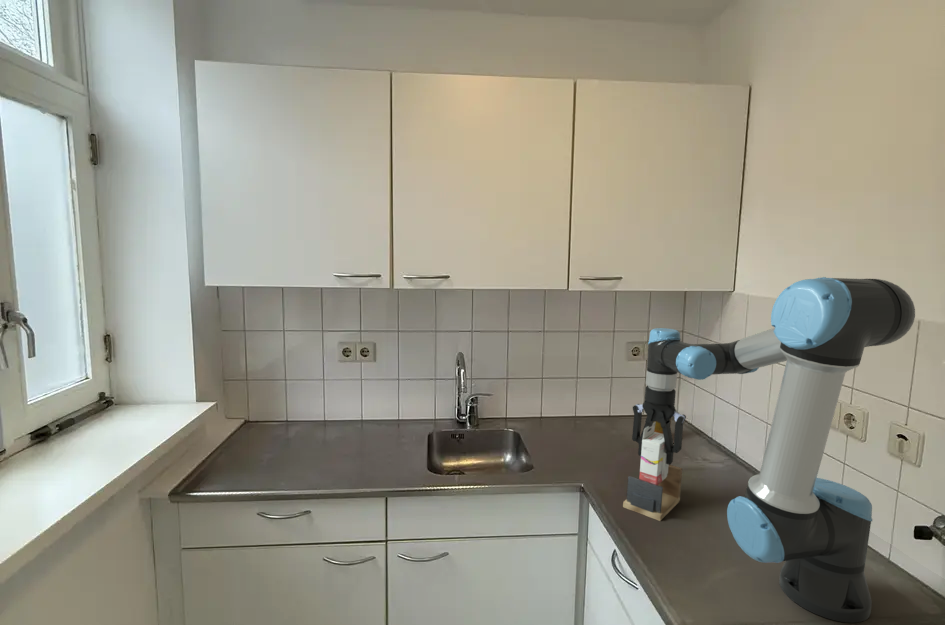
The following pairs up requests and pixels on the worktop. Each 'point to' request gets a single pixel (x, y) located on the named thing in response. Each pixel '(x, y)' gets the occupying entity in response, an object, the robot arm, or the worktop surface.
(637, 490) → the dark grey flat block
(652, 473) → the ink cartridge box
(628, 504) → the wooden plate stand
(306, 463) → the worktop surface
